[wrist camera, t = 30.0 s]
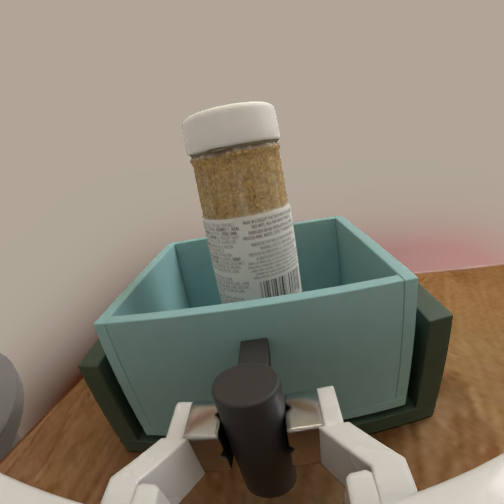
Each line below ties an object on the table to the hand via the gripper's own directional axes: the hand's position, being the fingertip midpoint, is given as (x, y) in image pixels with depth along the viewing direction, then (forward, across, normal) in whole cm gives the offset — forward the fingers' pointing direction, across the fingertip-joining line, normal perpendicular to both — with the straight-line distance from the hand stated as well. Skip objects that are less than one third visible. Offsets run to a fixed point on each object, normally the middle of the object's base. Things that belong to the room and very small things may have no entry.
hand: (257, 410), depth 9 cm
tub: (+6, 0, +4) cm, 8 cm away
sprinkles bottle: (+8, 0, +4) cm, 9 cm away
